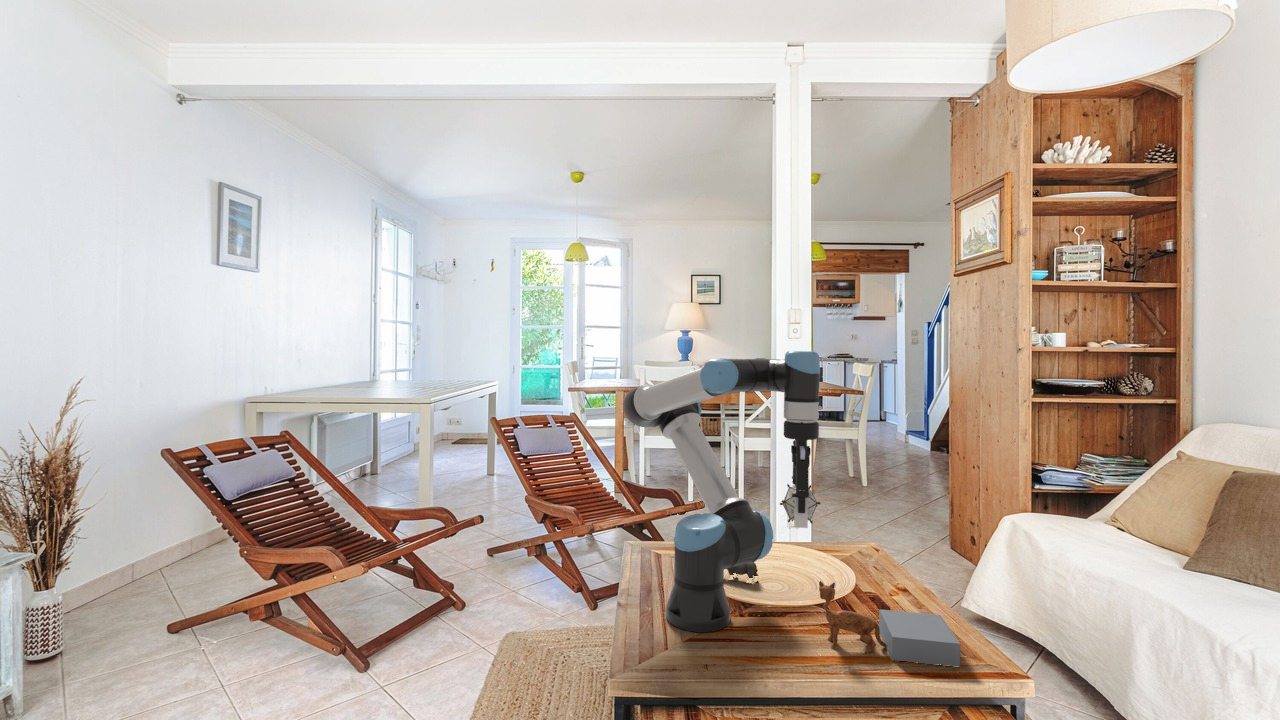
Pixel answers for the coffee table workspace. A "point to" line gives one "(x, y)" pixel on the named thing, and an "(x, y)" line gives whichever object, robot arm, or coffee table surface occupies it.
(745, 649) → the coffee table surface
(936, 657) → the stand
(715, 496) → the robot arm
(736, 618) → the coffee table surface
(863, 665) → the coffee table surface
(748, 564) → the dark grey animal figure
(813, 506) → the game die
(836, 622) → the cat figurine
